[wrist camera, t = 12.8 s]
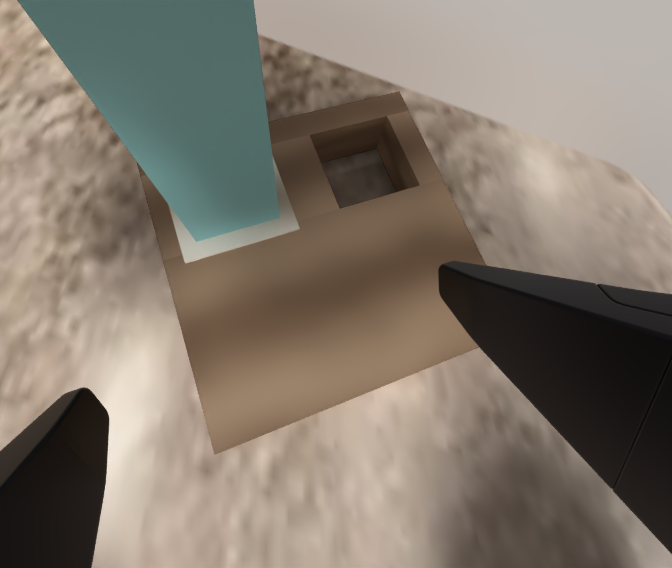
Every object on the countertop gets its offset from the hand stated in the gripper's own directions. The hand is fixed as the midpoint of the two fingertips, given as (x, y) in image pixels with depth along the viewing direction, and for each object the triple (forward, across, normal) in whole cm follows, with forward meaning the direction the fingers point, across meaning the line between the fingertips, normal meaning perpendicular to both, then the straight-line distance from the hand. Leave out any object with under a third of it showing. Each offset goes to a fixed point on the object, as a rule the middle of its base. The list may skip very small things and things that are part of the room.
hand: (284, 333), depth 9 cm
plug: (+12, 0, -1) cm, 12 cm away
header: (+12, -4, +4) cm, 13 cm away
